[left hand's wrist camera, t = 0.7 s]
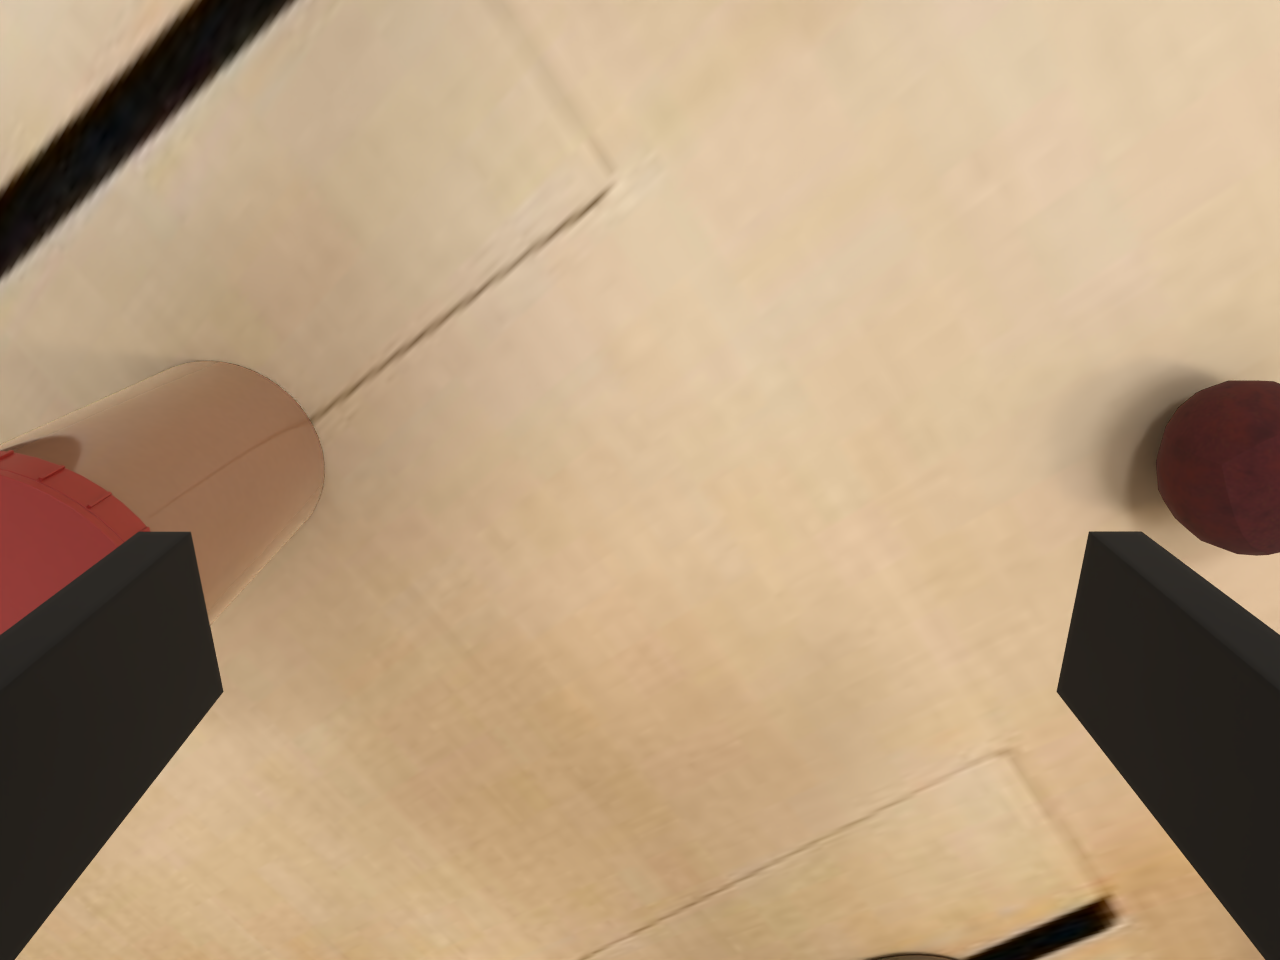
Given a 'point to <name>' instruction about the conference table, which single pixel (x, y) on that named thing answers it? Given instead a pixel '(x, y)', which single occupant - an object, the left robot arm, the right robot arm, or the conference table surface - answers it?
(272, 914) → the conference table surface
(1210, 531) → the maroon round ball
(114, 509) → the lid
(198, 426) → the jar
